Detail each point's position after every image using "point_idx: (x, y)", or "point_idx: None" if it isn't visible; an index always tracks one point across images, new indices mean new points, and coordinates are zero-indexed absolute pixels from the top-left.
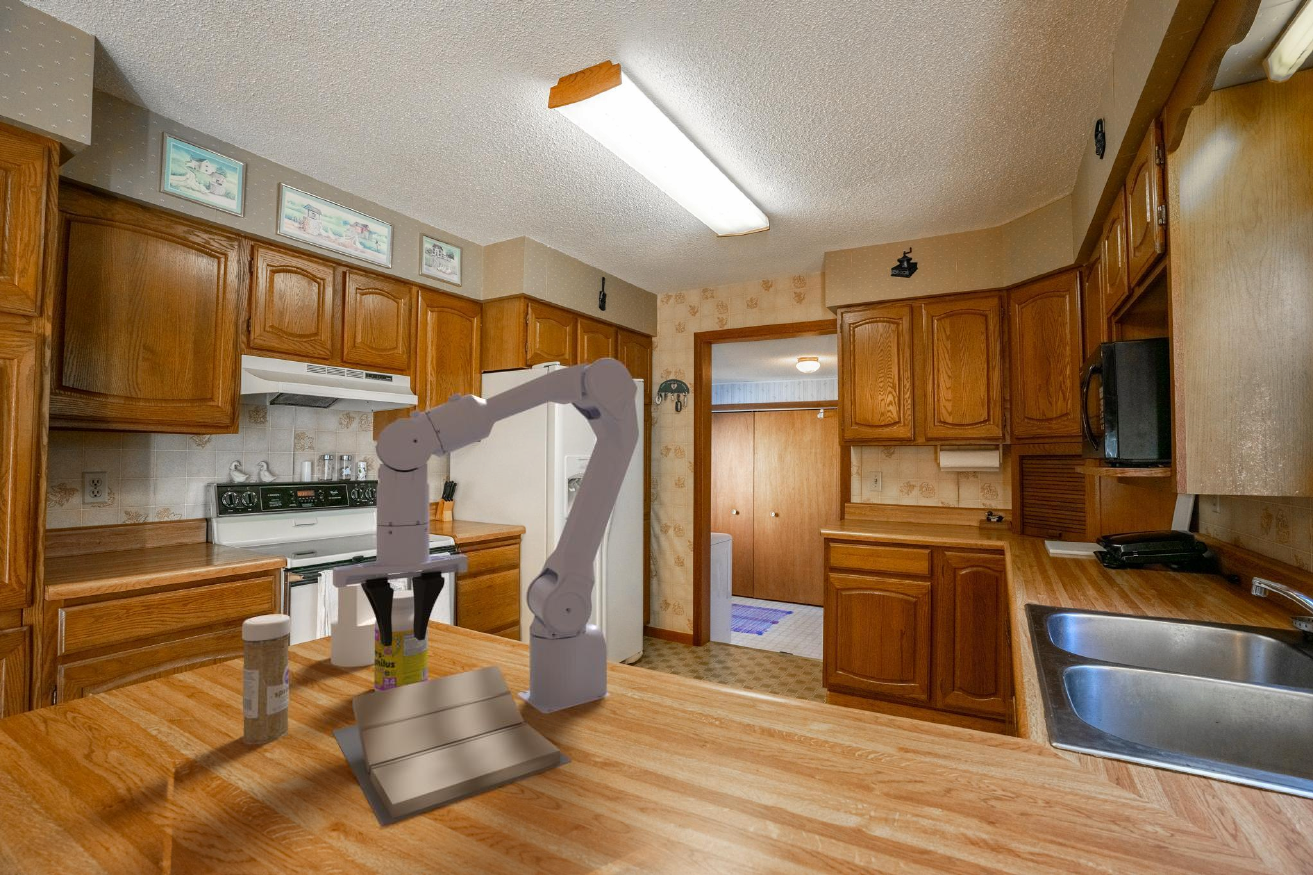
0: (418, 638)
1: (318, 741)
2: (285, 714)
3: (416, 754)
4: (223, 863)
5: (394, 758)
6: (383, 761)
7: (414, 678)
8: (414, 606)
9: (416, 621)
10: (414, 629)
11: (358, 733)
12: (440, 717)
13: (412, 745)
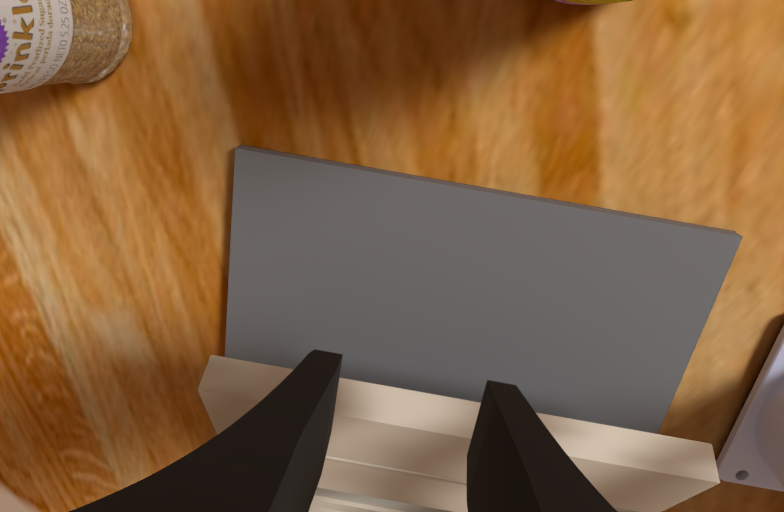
0: (468, 455)
1: (203, 150)
2: (75, 65)
3: (328, 502)
4: (6, 488)
5: None
6: None
7: (606, 3)
8: (530, 487)
9: (492, 474)
10: (488, 415)
11: (291, 228)
12: (421, 483)
13: (330, 485)
